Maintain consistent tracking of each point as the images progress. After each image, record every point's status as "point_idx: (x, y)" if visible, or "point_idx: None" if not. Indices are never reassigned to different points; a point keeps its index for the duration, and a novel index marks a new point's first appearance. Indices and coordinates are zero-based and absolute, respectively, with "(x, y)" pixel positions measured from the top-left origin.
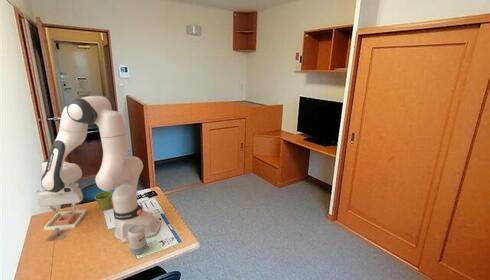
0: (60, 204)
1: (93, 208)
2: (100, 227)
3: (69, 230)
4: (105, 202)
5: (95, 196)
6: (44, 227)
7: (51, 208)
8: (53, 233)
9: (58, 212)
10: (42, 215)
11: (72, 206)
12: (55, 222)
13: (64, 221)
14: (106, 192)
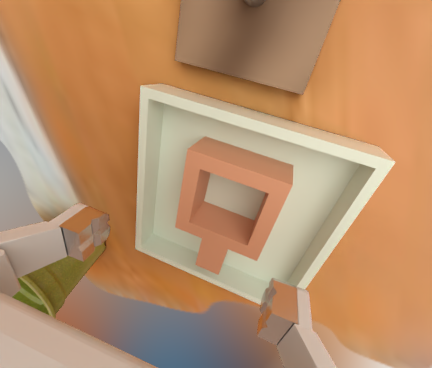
0: (110, 348)
1: (136, 258)
2: (21, 30)
3: (181, 48)
4: None
5: (49, 310)
6: (385, 158)
7: (302, 353)
8: (302, 50)
9: None
10: (382, 346)
11: (74, 252)
12: (286, 181)
13: (214, 157)
14: None
